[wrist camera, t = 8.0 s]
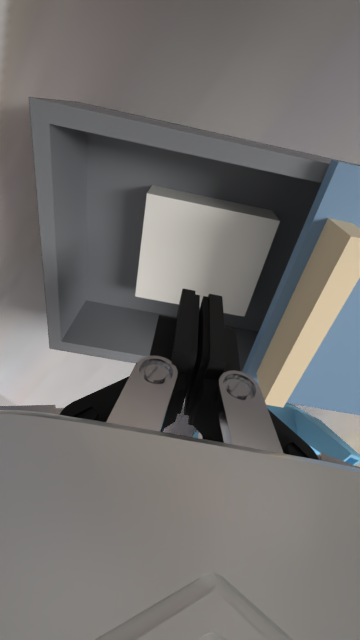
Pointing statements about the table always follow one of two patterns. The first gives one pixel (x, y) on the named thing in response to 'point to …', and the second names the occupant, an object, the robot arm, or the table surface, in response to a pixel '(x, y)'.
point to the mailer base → (115, 209)
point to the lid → (317, 307)
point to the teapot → (313, 433)
